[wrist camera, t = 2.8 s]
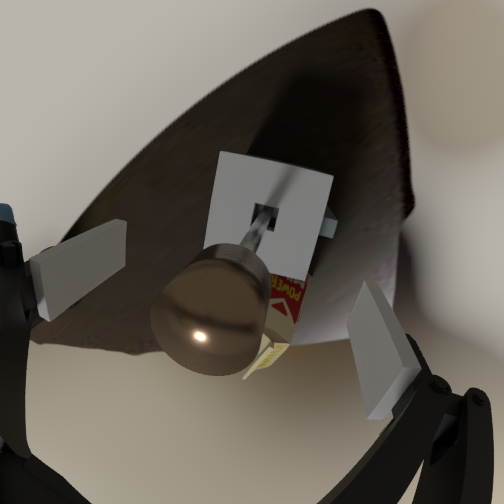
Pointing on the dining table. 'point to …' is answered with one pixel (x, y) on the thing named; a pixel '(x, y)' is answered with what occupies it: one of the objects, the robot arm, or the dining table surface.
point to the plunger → (217, 305)
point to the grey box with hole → (275, 195)
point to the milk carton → (279, 319)
